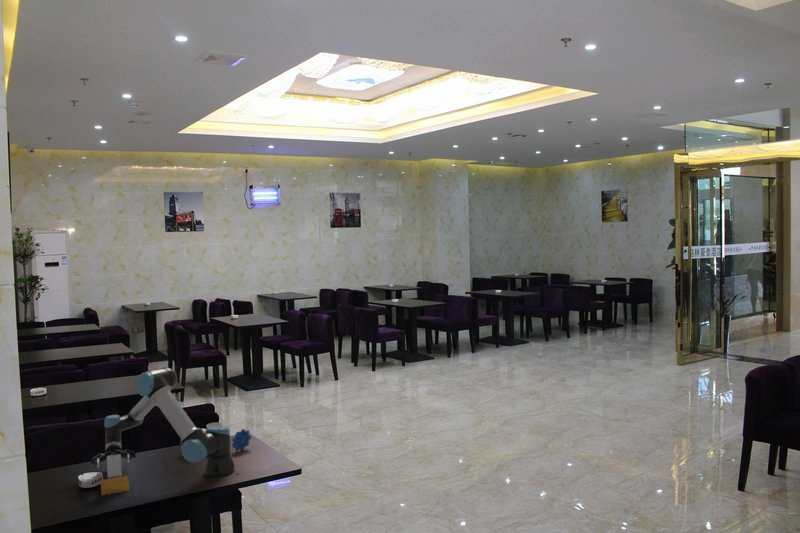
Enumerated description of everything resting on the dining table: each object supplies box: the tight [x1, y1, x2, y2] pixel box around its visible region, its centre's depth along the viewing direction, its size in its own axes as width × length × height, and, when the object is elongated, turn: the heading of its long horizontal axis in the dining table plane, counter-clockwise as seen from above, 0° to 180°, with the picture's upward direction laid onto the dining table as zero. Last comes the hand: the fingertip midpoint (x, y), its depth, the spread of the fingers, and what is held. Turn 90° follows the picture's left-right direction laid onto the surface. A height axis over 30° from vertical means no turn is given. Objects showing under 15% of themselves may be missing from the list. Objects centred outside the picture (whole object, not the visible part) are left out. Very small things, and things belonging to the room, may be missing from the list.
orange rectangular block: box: [100, 475, 130, 496], centre depth 305 cm, size 9×12×7 cm
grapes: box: [231, 428, 252, 452], centre depth 360 cm, size 12×7×12 cm, turn 129°
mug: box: [206, 422, 223, 428], centre depth 376 cm, size 12×9×11 cm
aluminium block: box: [106, 454, 123, 479], centre depth 306 cm, size 6×6×12 cm
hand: (113, 462), depth 308 cm, fingers open, 13 cm apart
